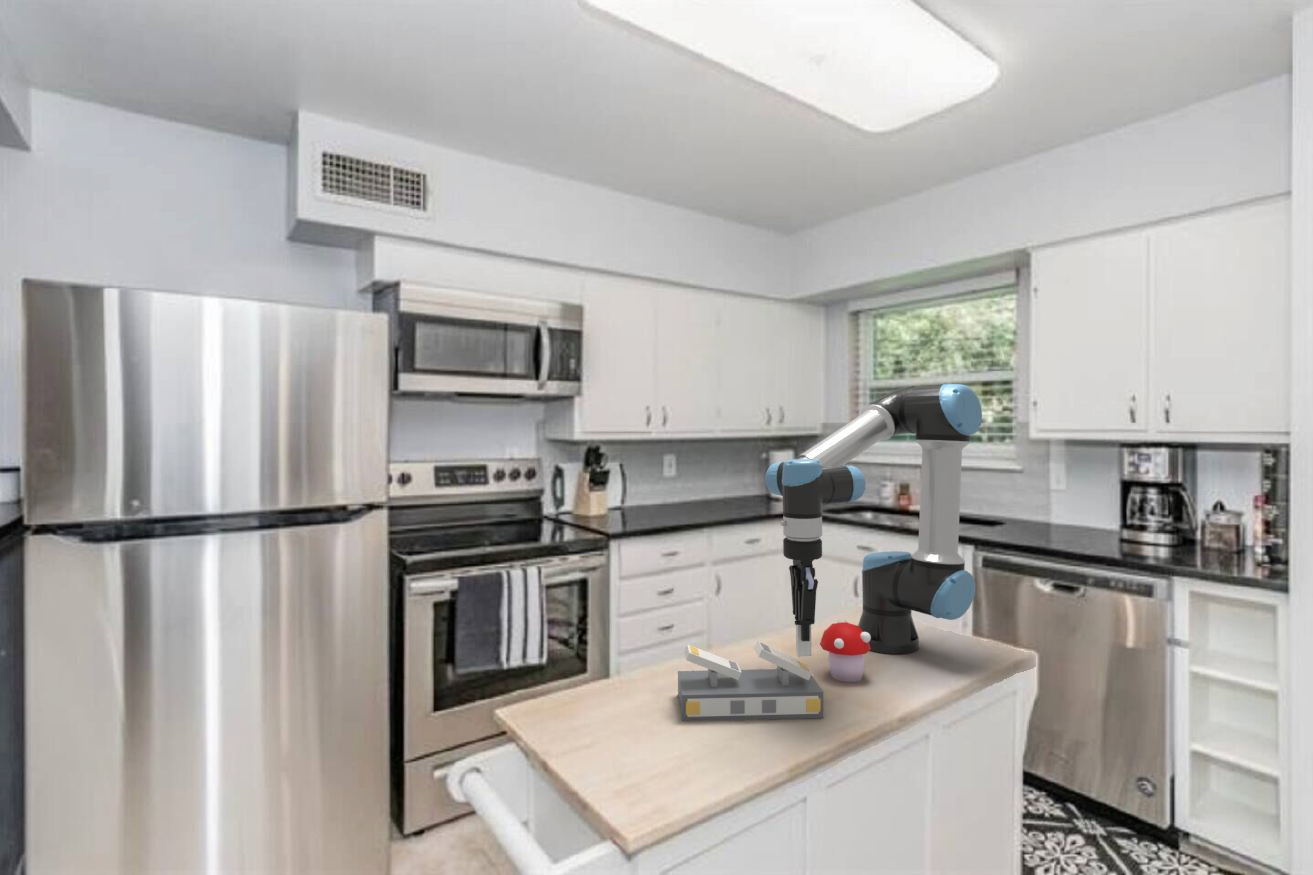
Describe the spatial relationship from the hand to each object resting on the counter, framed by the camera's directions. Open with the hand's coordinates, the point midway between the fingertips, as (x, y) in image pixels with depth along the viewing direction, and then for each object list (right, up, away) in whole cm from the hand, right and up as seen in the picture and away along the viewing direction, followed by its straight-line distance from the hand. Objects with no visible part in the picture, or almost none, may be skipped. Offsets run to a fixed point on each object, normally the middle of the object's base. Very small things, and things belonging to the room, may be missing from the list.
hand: (803, 654), depth 133 cm
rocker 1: (-18, -1, -1) cm, 18 cm away
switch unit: (-11, -10, 0) cm, 15 cm away
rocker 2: (-4, -1, 0) cm, 4 cm away
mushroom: (+12, -10, +14) cm, 21 cm away
